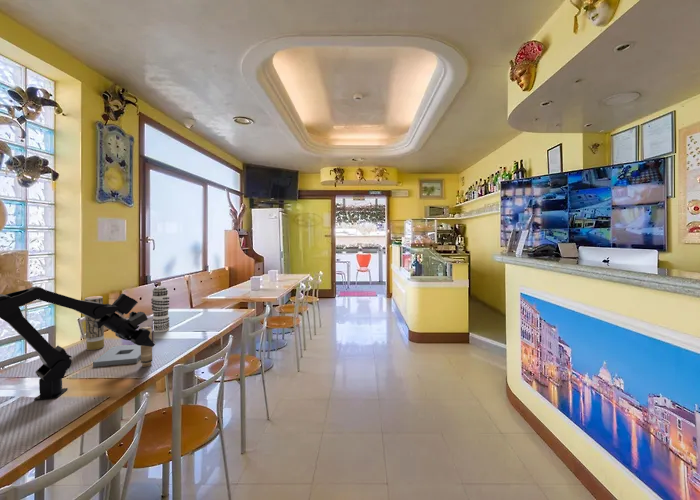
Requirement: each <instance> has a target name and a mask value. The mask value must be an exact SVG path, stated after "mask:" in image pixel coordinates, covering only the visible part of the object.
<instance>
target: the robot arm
mask: <svg viewBox="0 0 700 500" xmlns="http://www.w3.org/2000/svg"><path fill="white" fill-rule="evenodd" d="M37 300H38V301H41V302H44V303H45V302H46V303H48V304H52V305H56V306H59V307H64V308H66V309H69V310H73V311H76V312H78V313H80V314H82V315H84V316H85V315H86V316H88V317H91V318H94V319H99V320H97V321H94V322H95V327H96V328H98V329H99V328H101V327H102V326H103V325H104V327H105V328H107V329H108V330H111V332H112V333H114V334H115V336H116V337H117V338H119V339H121V340H124V341H128V342H129V341H130V342H131V343H133V345H139V346H150V347H152V348H153V347H154V346H155V344H156V343H155V342H154V341H153V340H151V339H150V338H149V335H150V331H149V330H147V329H144V328H143V327H141V329H140V328H139V327H140V325H141V324H142V323H145V322H146V321H148V320H149V318H148V317H147V315H146V313H145V312H144V311H137V312H135V311H132V310H133V309H134V307H135V306H136V305H137V304H138V301H137V300H136V299H135V298H133V297H130V296H128V295H126V294H125V293H121V294H120V295H118V298H116V299H115V301H114V302H113V303H112V304H110V303H103V304H101V303H98V302H92V301H85V299H84V300H83V299H77V298H73V297H70V296H67V295H64V294H60V293H57V292H55V291H54V292H53V291H51V290H47V289H44V287H39V286H31V287H29V288H25V289H23V290H22V289H21V290H17V291H14V292H13V291H12V292H9V293H6V294H2V293H0V319H1V320H2V321H4V322H6V323H7V324H8V325H9V326H10V327H11V328H12V329H13V330H14V331H15V332H17V334H18V335H19V336H20V337H21V338H22V339H23V340H24V341H25V342H26V343H27V344H28V345H29V346H30V347H31V348H32V349H34V351H35V352H36V353H37V355H38V357H39V359H40V361H41V363H42V365H40V367H38V369H37V370H36V371H35V374H36V376H37V377H38V378H39V381H38V384H39V388H38V389H39V394H38V395H37V396H35V398H34V399H33V400H34V401H40V400H41V401H42V400H50V399H57V398H59V397H60V396H61V395H62V394H64V393H65V392H66V391H68V387H64V388H63V379H64V378H65V375H66V373H67V371H68V370H69V369H70V367H71V366H72V362H73V361H72V359H71V358H72V356H71V354H68V353H67V351H66V350H65V348H63V347H61V346H60V345H57V346H55V347H54V346H52V345H51V344H50V343H49V342H48V341H47V340H46V338H45V337H43V335H42V334H41V332H39V331H38V330H37V329H36V328H35V327H34V325H32V324H31V323H30V321H28V319H27V318H25V316H24V314H23V312H22V310H21V308H20V307H23V306H25V305H28V304H29V303H32V302H35V301H37ZM128 314H129V315H128ZM124 315H128V316H129V317H128V318H127V319H126V318H125V317H122V316H124Z"/></svg>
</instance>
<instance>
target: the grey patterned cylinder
mask: <svg viewBox="0 0 700 500" xmlns="http://www.w3.org/2000/svg"><path fill="white" fill-rule="evenodd" d="M84 301H92V302H98V303H101V304H104V298H103V295H94V296H88V297H87V296H86V297H85V298H84ZM84 316H85V317H84V318H85V339H86V342H85V343H86V350H89V351H95V350H100V349H102V348H104V346H105V328H104V327H105V326H104V325H103V326H102V327H101V328H99V329H98V328H96V327H95V322H94V321H97V320H99V319H94V318H91V317H88V316H86V315H84Z"/></svg>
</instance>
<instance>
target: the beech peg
mask: <svg viewBox="0 0 700 500" xmlns="http://www.w3.org/2000/svg"><path fill="white" fill-rule="evenodd" d="M141 328H144V329H147V330H149V331H150V335H149V338H150V339H151V340H152V339H153V338H152V337H153V335H152V333H153V328H152V326H144V327H141ZM141 328H139V329H141ZM152 341H153V340H152ZM152 361H153V347H150V346H141V359H140V364H141V367H143V368H146V367H150V366H152Z"/></svg>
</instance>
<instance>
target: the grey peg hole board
mask: <svg viewBox="0 0 700 500" xmlns="http://www.w3.org/2000/svg"><path fill="white" fill-rule="evenodd" d="M140 361H141V346H139V345H136V344H127V345H114V346H113V347H111V348H109V349H108V350H107V351H106V352H104V353H103V354H102V355H100V356H99V357H98V358H97V359H95V360H93V361H92V367H93V368H96V367H107V366H116V365H128V364H138V363H139V362H140Z"/></svg>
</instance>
